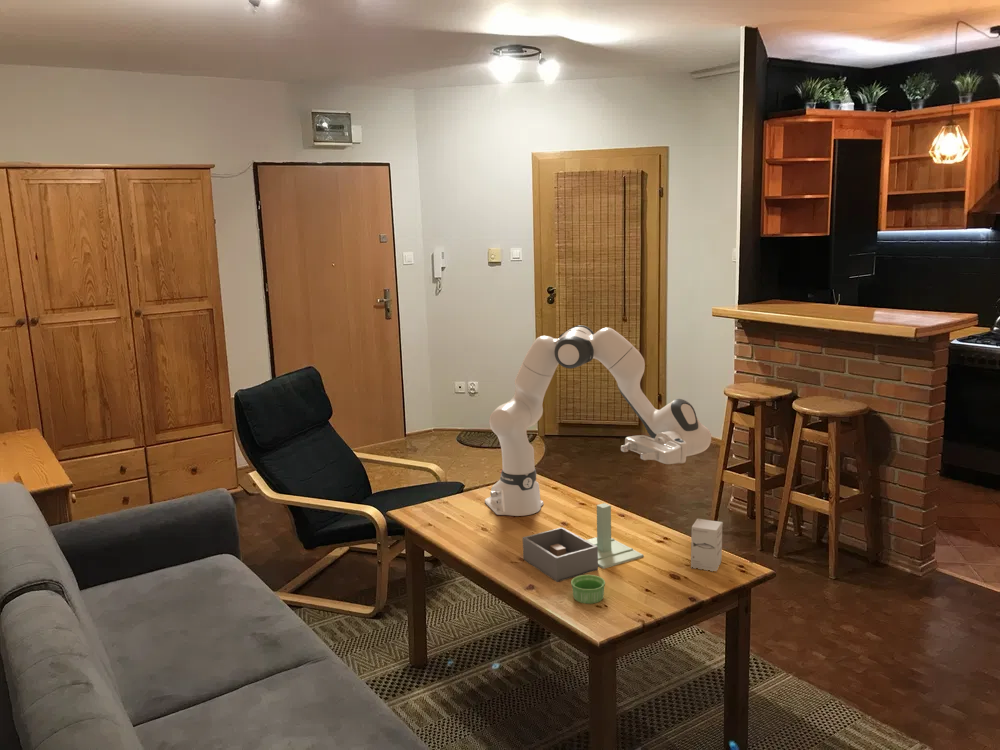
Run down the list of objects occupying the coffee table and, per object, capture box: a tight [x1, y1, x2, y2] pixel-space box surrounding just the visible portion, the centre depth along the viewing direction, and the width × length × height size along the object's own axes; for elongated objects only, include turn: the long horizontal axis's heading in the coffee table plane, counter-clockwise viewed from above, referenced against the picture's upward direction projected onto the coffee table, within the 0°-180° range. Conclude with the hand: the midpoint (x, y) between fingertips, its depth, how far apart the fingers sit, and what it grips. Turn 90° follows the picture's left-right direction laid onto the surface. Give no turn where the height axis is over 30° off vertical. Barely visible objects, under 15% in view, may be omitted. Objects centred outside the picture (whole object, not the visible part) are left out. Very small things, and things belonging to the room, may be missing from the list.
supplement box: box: [690, 518, 723, 572], centre depth 225 cm, size 7×7×13 cm
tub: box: [522, 526, 599, 583], centre depth 230 cm, size 18×14×7 cm
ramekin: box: [570, 574, 606, 605], centre depth 210 cm, size 9×9×4 cm
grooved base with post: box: [585, 502, 644, 570], centre depth 237 cm, size 19×15×15 cm
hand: (631, 452), depth 240 cm, fingers open, 8 cm apart
